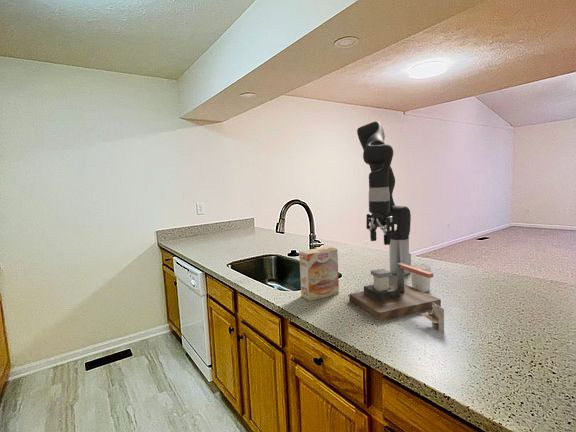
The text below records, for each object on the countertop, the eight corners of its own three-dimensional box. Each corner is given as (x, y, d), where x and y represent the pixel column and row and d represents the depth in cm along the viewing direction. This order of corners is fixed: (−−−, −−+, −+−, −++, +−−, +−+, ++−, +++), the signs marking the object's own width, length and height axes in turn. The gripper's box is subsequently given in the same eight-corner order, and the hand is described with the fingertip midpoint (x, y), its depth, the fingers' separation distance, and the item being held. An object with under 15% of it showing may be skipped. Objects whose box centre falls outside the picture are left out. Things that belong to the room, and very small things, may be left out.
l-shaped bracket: (396, 290, 129) (395, 263, 128) (401, 289, 130) (400, 262, 129) (428, 304, 113) (428, 274, 112) (434, 303, 114) (434, 273, 113)
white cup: (431, 287, 140) (431, 264, 139) (430, 293, 133) (430, 269, 132) (411, 285, 143) (411, 263, 142) (410, 291, 136) (409, 268, 135)
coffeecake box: (309, 301, 131) (307, 254, 129) (300, 296, 138) (298, 250, 136) (339, 293, 138) (338, 248, 136) (330, 289, 145) (328, 245, 142)
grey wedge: (434, 333, 101) (434, 310, 100) (421, 324, 107) (421, 302, 107) (444, 332, 101) (444, 309, 100) (430, 322, 108) (430, 301, 107)
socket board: (404, 290, 138) (403, 276, 137) (440, 307, 119) (440, 291, 118) (349, 301, 129) (348, 286, 128) (379, 321, 110) (379, 304, 110)
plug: (383, 292, 129) (382, 268, 128) (391, 296, 124) (391, 272, 123) (371, 294, 127) (370, 270, 126) (379, 299, 122) (379, 274, 121)
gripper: (359, 199, 127) (361, 240, 129) (382, 201, 113) (383, 247, 115) (376, 198, 129) (377, 238, 131) (400, 199, 116) (400, 244, 118)
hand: (380, 242), depth 123 cm, fingers open, 8 cm apart
